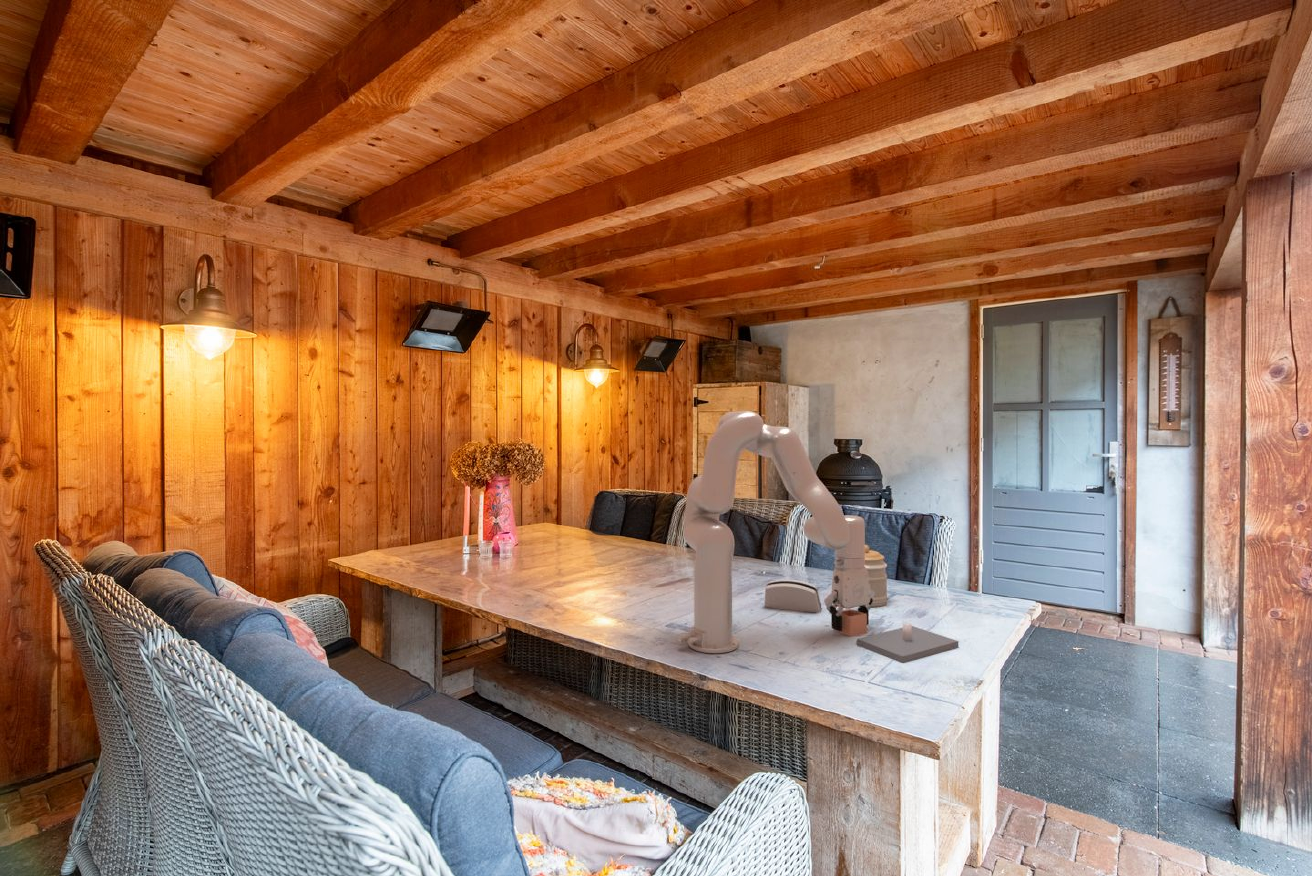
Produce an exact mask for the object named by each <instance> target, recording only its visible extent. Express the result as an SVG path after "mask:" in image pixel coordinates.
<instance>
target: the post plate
mask: <svg viewBox="0 0 1312 876" xmlns="http://www.w3.org/2000/svg"><path fill="white" fill-rule="evenodd" d="M856 646H860V647H861V648H864V649H866V650H869V651H872V652H874V653H877V654H879V655H882V656H884V657H887V658H890V659H892V660H895V661H897V662H900V663H907V662H911V661H914V660H918V659H921V658H925V657H929V656H932V655H935V654H939V653H943V652H946V651H950V650H953V649H956V648H957V649H958V648H959V640H956V639H953V638H950V637H948V636H947V637H946V636H943V635H942V634H937V633H935V632H932V631H929V630H926V629H923V628H920V627H917V626H913V624H912V623H911V622H903V623H902V627H900V628H896V629H892V630H887V631H883V632H879V633H875V634H872V635H871V634H870V635H867V636H861V637H858V638H856Z"/></svg>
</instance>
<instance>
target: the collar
mask: <svg viewBox="0 0 1312 876" xmlns="http://www.w3.org/2000/svg"><path fill="white" fill-rule="evenodd" d="M840 616H842V631H837V630H835V629H833V631H834V632H837V633H840V634H841V635H845V636H847V637H849V638H850V637H857V636H860V635H863V634H867V633H868V625H867V614H865V613H862V612H859V611H858V610H856V609H854V608H849V609H846V608H844V609H843V610H842V612H841V614H840Z"/></svg>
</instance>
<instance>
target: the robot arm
mask: <svg viewBox="0 0 1312 876" xmlns="http://www.w3.org/2000/svg"><path fill="white" fill-rule="evenodd" d="M744 450H745V451H748V452H750V453H753V454H755V455H758V456H762V457H764V458H770V459H772V462H773V464H774V466H775V467H776V470H777V473H778V475H779V476H780V479H781V481H782V483H783V485H784V487H785V489H786V491H787V492H788V493H789V494H790V495H791V497H793V498H794V499H795V500H796V501H798V502H799V503H800V504H802V506H804V507H805V508H806V510H807V511H808V512H809V513H810V515H811V517H808V519H807V520H806V521H805V522H804V525H803V534H804V536H805V537H806V538H807V540H809V541H810V542H812V543H814V544H817V545H819V546H822V547H825V548H828V549H831V550H834V551H835V553H834V554H835V555H834V561H833V564H834V568H833V573H832V580H831V593H830V594H829V595H828V596H827V597H825V598H824V600H823V602H824V604H825V606H826V609H827V611H828V612H829V614H830V615H831V620H830V621H831V624H830V625H831V629H833V630H834V629H835V630H837V631H842V616H840V614H841V612H842V610H844V609H849V608H850V609H854V608H857V611H859V612H862V613H865V614H867V626H868V625H869V621H870V620H869V619H870V617H869V616H870V614H869V611H870V610H871V607H870V605H871V604H872V602H873V597H874V594H875V592H874V591H873V590H871V589H870V583H869V575H868V571H867V567H865V545H866V543H865V542H866V541H865V540H866V538H865V537H866V535H865V531H866V529H865V528H866V523H865V520H864V518H863V517H861V516H858V515H853V514H852V515H847V514H846V515H844V513H843V512H844V511H843V510H842V508H841V506H840V504H839V503H838V501H837V500H836V498H835V497H834V495H832V494H831V491H829V490H828V488H827V487H826V486H825V485H824V483H823V482H822V481H821V480H820V479H819V477H818V475H817V473H816V472H815V470H814V467H813V465H812V463H811V461H810V459H809V456H808V454H807V452H806V449H805V447H804V445H803V443H802V440H801V438H800V436H799V435H798V434H797V432H796V431H795V430H794V429H792V428H791V427H788V426H773V425H769V424H766V423H764V420H763V418H762V417H761V416H760V415H759V414H758V413H757V412H754V411H751V410H739V411H738V410H737V411H729V412H727V413H725V414H723V415H722V416H721V417H720V419H719V420H718V422H717V429H716V431H715V432H714V433H713V434H712V435H711V438H710V440H709V441H708V443H707V446H706V448H705V453H704V458H703V459H704V460H703V466H702V471H701V473H702V474H700V475H698V476H696V477H694V479H693V480H692V481H691V483H690V484H689V486H688V488H687V489H688V490H687V494H686V501H685V510H684V521H683V522H684V523H683V537H684V540H685V541H686V542H685V543H687V545H688V546H689V547H690V548H691V549H693V550H694V551H695V559H694V565H693V566H694V567H693V568H694V569H693V611H694V613H693V618H694V619H693V622H694V623H693V625H694V626H690V630H689V631H688V632H686V633H680V634H677V636H676V639H677V642H678V643H685V642H687V644H688V646H689V648H691V649H692V650H693V651H697V652H701V653H705V654H724V653H730V652H734V651H735V650H737V649H738V647H739V646H740V645H739V643H740V642H739V639H738V638H737V637H736V636H734V635H733V581H732V580H733V579H732V578H733V560H734V559H733V558H734V553H735V537H734V534H733V533H734V532H733V531H732V530H731V528H730V526H728V525H727V524H726V523H724V522H723V521H722V520H720V515H723V514H725V513H728V512H729V511H730V509H732V507H733V506H734V501H735V495H736V493H735V492H736V483H737V482H736V481H737V472H738V465H739V460H740V457H741V455H742V453H743V451H744ZM837 631H836V632H837Z"/></svg>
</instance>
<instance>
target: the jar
mask: <svg viewBox="0 0 1312 876" xmlns="http://www.w3.org/2000/svg"><path fill="white" fill-rule="evenodd" d="M884 559H885V556H884V555H883V554H881V553H880V552H878V551H876V550H872V549H870V546H869V545H867V544H865V567H867V571H868V575H869V583H870V589H871V590H873V591H874V592H875V594H874V597H873V602H872V604H871V605H870V608H874V607H875V608H876V607H882V606H884V605H886V604H887V601H888V593H887V591H888V590H887V589H888V588H887V587H888V585H887V584H888V579H887V578H888V574H887V571H886V569H887V567H888V563H886V562H885V561H884Z"/></svg>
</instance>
